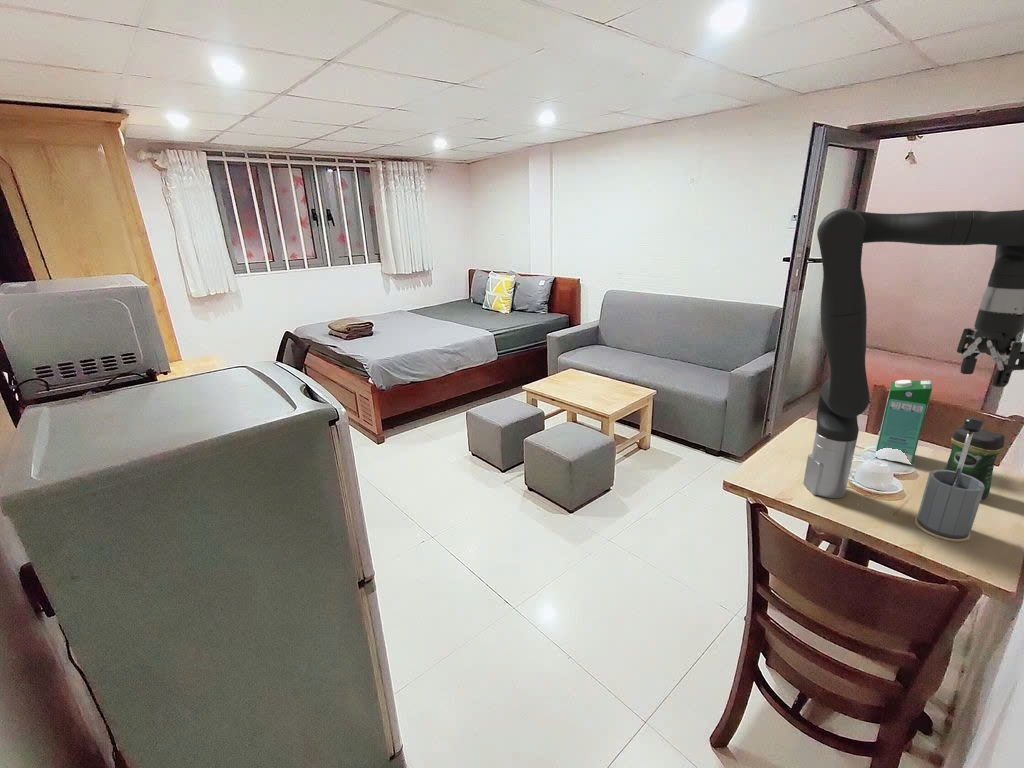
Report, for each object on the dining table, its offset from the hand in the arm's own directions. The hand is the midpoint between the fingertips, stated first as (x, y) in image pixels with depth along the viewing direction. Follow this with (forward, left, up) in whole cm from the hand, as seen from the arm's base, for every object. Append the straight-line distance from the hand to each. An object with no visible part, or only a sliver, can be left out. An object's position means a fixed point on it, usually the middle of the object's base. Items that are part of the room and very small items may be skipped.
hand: (982, 379), depth 104 cm
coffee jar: (+14, +13, -37) cm, 42 cm away
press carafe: (-3, -4, -37) cm, 37 cm away
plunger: (-3, -4, -27) cm, 28 cm away
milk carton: (+9, +33, -37) cm, 50 cm away
